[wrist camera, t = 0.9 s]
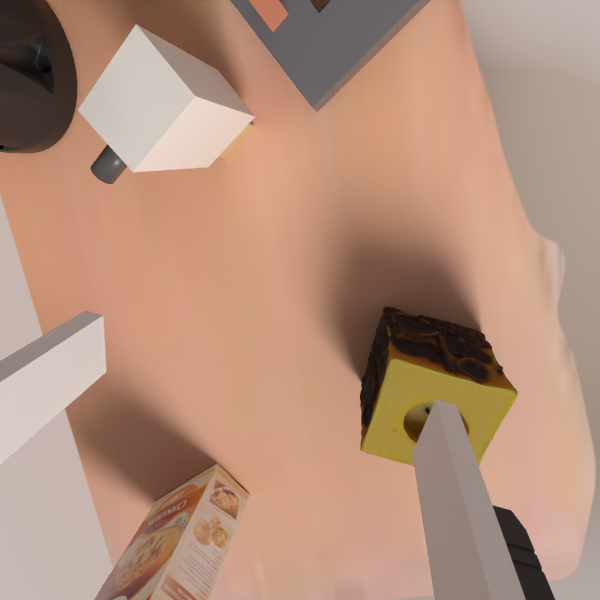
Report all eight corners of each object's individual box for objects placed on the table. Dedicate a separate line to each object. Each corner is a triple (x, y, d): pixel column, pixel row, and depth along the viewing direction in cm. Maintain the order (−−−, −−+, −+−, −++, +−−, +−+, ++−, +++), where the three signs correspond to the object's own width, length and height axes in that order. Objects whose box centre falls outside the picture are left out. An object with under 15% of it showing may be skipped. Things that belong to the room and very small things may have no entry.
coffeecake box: (217, 461, 49) (128, 635, 31) (252, 495, 50) (186, 681, 32) (153, 500, 55) (47, 666, 37) (186, 529, 56) (99, 705, 38)
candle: (384, 304, 36) (388, 353, 27) (485, 329, 35) (524, 389, 26) (358, 384, 40) (354, 451, 31) (448, 409, 39) (471, 485, 30)
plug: (199, 187, 35) (106, 204, 23) (167, 150, 35) (52, 146, 22) (264, 119, 32) (195, 96, 20) (229, 76, 31) (135, 24, 19)
